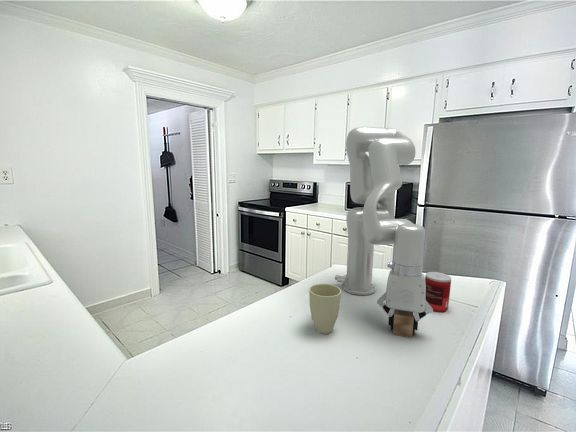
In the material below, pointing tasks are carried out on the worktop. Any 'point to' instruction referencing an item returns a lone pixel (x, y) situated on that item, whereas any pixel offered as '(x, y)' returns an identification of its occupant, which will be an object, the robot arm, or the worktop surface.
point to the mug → (324, 306)
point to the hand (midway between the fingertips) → (402, 329)
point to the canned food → (438, 290)
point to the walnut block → (403, 323)
